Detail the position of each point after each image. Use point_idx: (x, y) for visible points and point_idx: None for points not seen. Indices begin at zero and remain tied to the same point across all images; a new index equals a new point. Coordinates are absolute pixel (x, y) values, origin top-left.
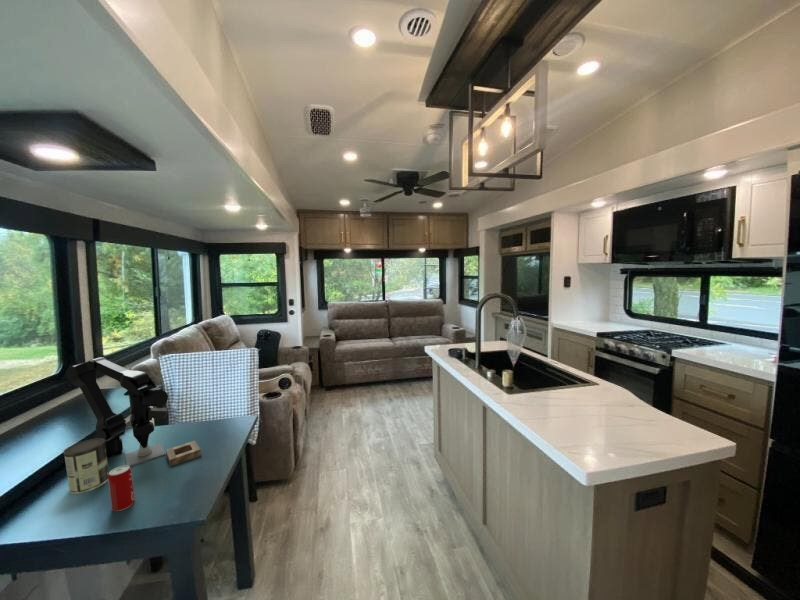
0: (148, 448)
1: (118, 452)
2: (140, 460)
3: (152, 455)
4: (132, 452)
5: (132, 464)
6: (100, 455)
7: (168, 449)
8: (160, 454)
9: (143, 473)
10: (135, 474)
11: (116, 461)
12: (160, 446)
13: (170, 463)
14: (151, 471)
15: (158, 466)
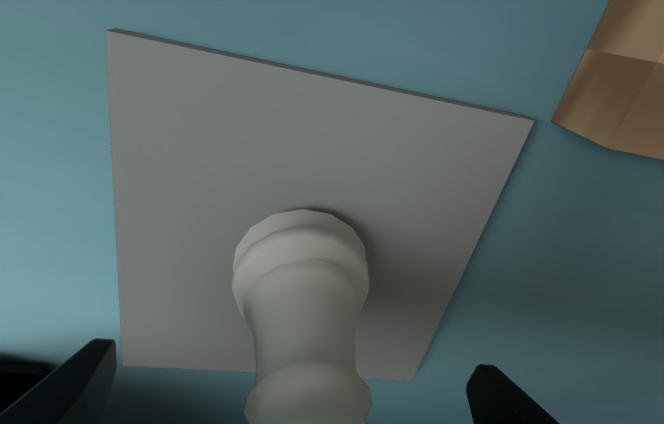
0: (350, 275)
1: (20, 390)
2: (411, 308)
3: (422, 223)
4: (139, 321)
5: (421, 355)
6: None
7: (640, 119)
8: (491, 166)
9: (619, 318)
10: (569, 349)
11: (199, 397)
12: (246, 89)
13: None
14: (660, 281)
15: (654, 231)
